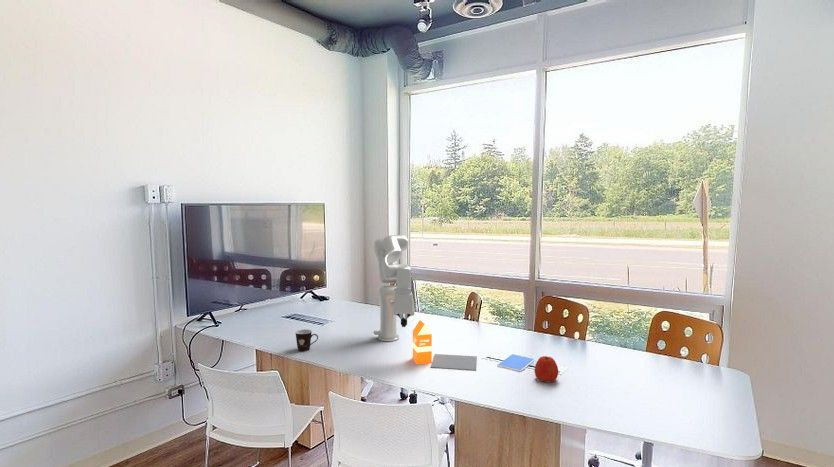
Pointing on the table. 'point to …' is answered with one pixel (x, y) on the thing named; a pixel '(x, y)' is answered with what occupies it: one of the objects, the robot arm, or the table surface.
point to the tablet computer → (515, 362)
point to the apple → (546, 369)
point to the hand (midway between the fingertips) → (404, 326)
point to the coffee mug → (304, 339)
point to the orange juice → (422, 344)
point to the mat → (454, 362)
